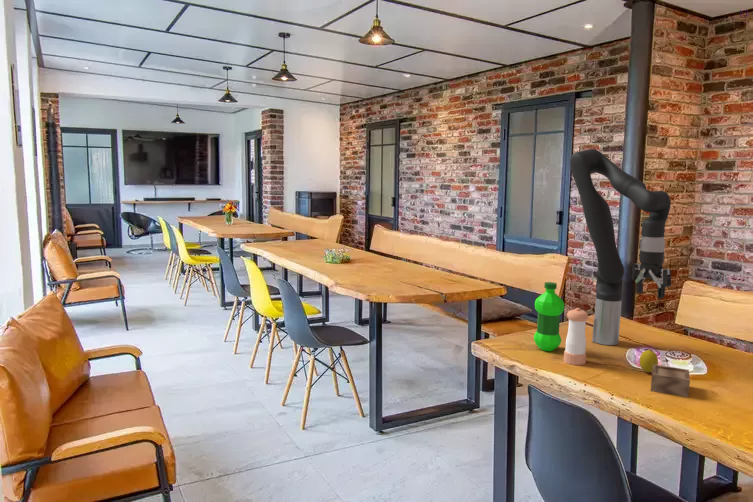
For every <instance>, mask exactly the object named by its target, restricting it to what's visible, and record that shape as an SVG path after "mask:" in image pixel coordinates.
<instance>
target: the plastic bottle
mask: <svg viewBox="0 0 753 502" xmlns="http://www.w3.org/2000/svg"><path fill="white" fill-rule="evenodd" d="M543 287H544V289H545V291H544V292H543V293H542V294H541V295H539V296H538V297H537V298H536V299H535V301H534V308H535V311H536V312H537V319H536V331H535V333H534V334H533V340H534V343H535V345H536V346H537V347H538V348H539V349H540V350H541V351H545V352H553V351H555V350H556V349H557V348H558V347H560V345H561V343H562V338H561V335H560V324H561V321H560V320H561V314H562V313H564V310H565V303H564V300H563V299H562V298H561V297H560V296H559V295H558V294H557V293H556V291H555V290H556V289H557V287H558V286H557V282H551V281H547V282H544V286H543Z"/></svg>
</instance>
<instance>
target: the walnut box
mask: <svg viewBox="0 0 753 502" xmlns="http://www.w3.org/2000/svg"><path fill="white" fill-rule="evenodd" d="M690 379H691V377H690V370H689V369H687V368H680V367H674V366H673V367H672V366H666V365H659V364H658V365H654V364H653V368H652V371H651V379H650V380H651V382H650V392H653V391H654V392H655V393H659V392H660V393H659V394H665V395H666V394H667V395H672V396H676V395H677V397H684V398H689V394H690V384H691V380H690Z"/></svg>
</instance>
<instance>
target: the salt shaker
mask: <svg viewBox="0 0 753 502" xmlns="http://www.w3.org/2000/svg"><path fill="white" fill-rule="evenodd" d="M566 317H567V319H568V330H567V334H566V339H565V350H563V362H564V363H566V364H569V365H573V366H583V365H585V364H587V363H586V362H587V352H586V349H587V347H586V346H587V340H586V321H588V320H589V314H588V313H587V312H586V311H584V310H583V309H581V308H580V307H576V308H575V309H571V310H568V311H567V313H566Z"/></svg>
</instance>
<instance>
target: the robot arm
mask: <svg viewBox="0 0 753 502" xmlns="http://www.w3.org/2000/svg"><path fill="white" fill-rule="evenodd" d="M569 159H570V160H569V166H570V171H571V174H572V178H573V179H574V182H575V185H576V188H577V191H578V194H579V198H580V202H581V205H582V211H583V215H584V219H585V223H586V227H587V229H588V233H589V235H590V239H591V240H592V243H593V245H594V248H595V252H596V259H597V269H596V285H595V286H596V288H595V289H596V290H595V306H594V317H593V327H592V328H593V329H592V340H591V341H592V343H596V344H599V345H605V346H614V345H618V344H619V340H620V325H621V314H622V313H621V312H622V298H623V278H624V275H625V271H626V269H625V267H624V264H623V262H622V260H621V257H620V254H619V251H618V247H617V242H616V235H615V227H614V221H613V215H612V212H611V209H610V205H609V204H608V201H606V199H605V198H604V197H603V195H601V194H600V193H599V192H598V190H597V188H595V186H594V183H593V179H592V176H591V174H595V173H596V174H600V175H601V176H604V177H606V178H607V179H608V181H609V183H610V185H611V186H612V188H613V189H614V190H615V191H616V192H617V193H619V194H620V195H622V196H624V197H625V198H627V199H630V200H631V202H632V203H633V204H634V205H635V207H637V208H638V209H639V210H642V212H646V213H649V216H648V218H646V219H644V220H643V221H642V224H641V238H640V245H639V263H632V267H631V279H630V280H632V281H634V282H635V283H636V286H635V287H636V288H635V292H636V294H640V295H641V294H643V293H644V281H645V280H646V279H650V280H653V282H654V283H655V284H656V286H657V292H656V293H657V294H656V295H657V299H664V297H665V294H666V288H668V287H671V286H672V270H671V268H664V267H663V264H664V262H665V246H666V245H665V244H666V242H665V241H666V240H665V234H666V233H665V232H666V230H665V229H666V222H667V220H668V217H669V214H670V213H669V212H670V209H671V205H672V201H671V197H670V195H669V194H668V193H667V192H666V191H665V190H654V191H653V190H649V189H647V186H646V184H645V183H644V182H643V181H641V180H640V179H638V178H636V177H634V176H633V175H631V174H629V173H627V172H626V171H624V170H623V169H622V168H620V167H619V166H618V165H616V164H615V163H614V162H613V161H612V160H611V159H609V158H608V157H607V156H606V155H604V154H603V153H602V152H601V151H600V150H597V149H595V148H588V149H584V150H581V151H577V152H574V153H573V154H572V155H571V156H570V158H569Z"/></svg>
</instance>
